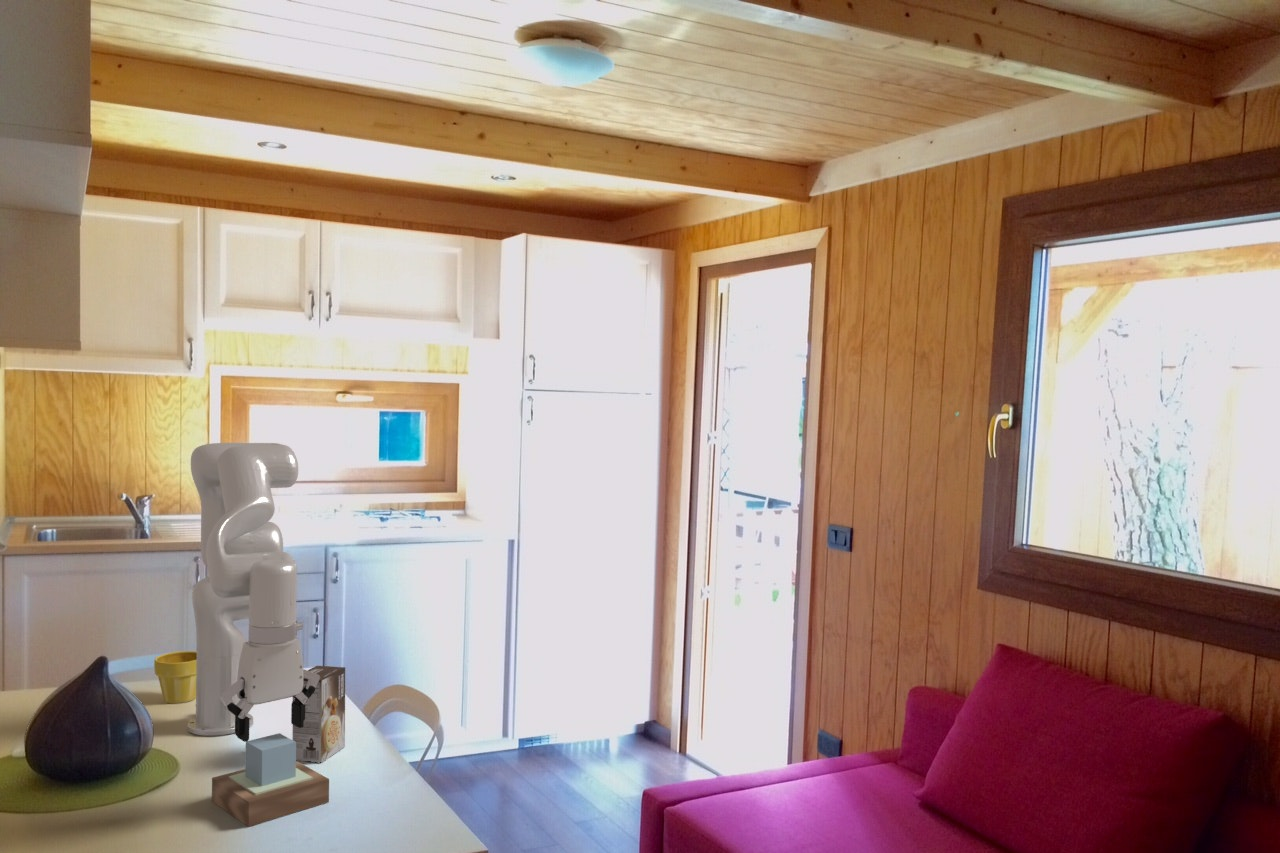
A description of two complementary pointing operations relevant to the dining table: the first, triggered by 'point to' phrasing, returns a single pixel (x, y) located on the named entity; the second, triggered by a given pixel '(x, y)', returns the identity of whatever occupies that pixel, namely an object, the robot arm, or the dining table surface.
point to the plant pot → (177, 676)
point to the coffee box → (323, 717)
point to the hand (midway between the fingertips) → (270, 732)
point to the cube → (270, 759)
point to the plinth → (269, 795)
